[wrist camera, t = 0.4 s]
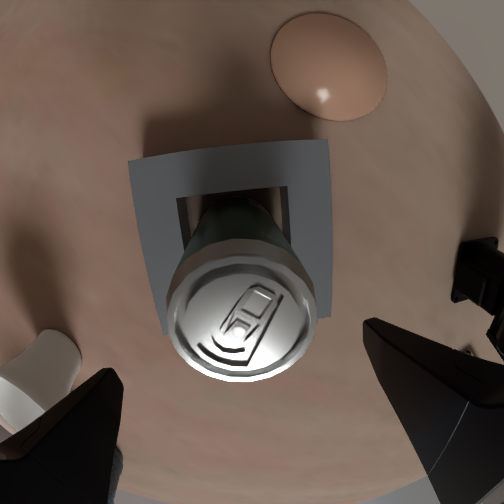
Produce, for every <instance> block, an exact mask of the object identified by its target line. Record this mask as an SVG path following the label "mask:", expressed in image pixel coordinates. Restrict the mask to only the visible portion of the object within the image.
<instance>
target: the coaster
mask: <svg viewBox="0 0 504 504" xmlns="http://www.w3.org/2000/svg"><path fill="white" fill-rule="evenodd" d="M270 62H271V68H272V72H273V75H274V78H275V80H276V82H277V84H278V85H279V87H280V88H281V90H282V91H283V93H284V94H285V95H286V96H287V97H288V98H289V99H290V100H291V101H292V102H293V103H294V104H295V105H297V106H298V107H299V108H301V109H302V110H304V111H306V112H307V113H309V114H311V115H314V116H316V117H319V118H322V119H326V120H331V121H348V120H354V119H357V118H360V117H363V116H365V115H367V114H368V113H370V112H371V111H373V110H374V109H375V108H376V107H377V106H378V105H379V103H380V102H381V100H382V98H383V96H384V94H385V91H386V87H387V77H388V76H387V68H386V64H385V61H384V58H383V55H382V53H381V51H380V49H379V48H378V46H377V45H376V43H375V42H374V41H373V40H372V38H371V37H370V36H369V35H368V34H367V33H366V32H364V31H363V30H362V29H361V28H360V27H358V26H356V25H355V24H353V23H352V22H350V21H348V20H346V19H343V18H340V17H337V16H334V15H329V14H307V15H303V16H300V17H297V18H295V19H293V20H291V21H289V22H288V23H287V24H285V25H284V26H283V27H282V28H281V29H280V31H279V32H278V33H277V35H276V37H275V39H274V41H273V44H272V48H271V54H270Z"/></svg>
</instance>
